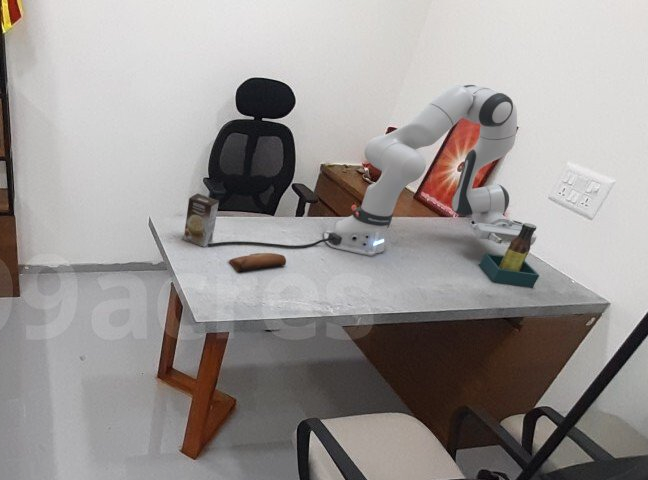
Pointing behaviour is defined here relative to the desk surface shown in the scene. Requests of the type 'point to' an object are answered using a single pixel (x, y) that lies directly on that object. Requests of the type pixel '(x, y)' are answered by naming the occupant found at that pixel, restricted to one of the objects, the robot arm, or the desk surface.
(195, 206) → the coffee box
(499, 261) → the teal open box
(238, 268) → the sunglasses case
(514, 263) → the sauce bottle
